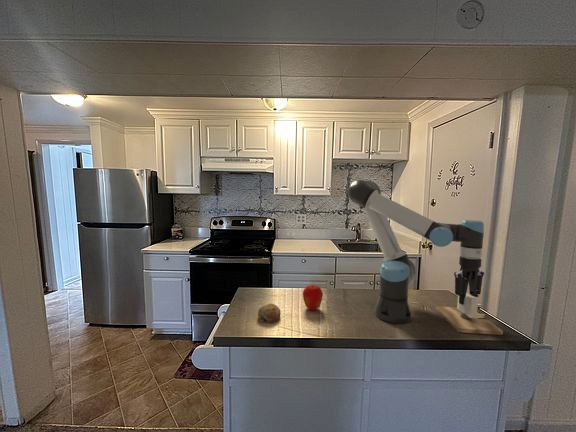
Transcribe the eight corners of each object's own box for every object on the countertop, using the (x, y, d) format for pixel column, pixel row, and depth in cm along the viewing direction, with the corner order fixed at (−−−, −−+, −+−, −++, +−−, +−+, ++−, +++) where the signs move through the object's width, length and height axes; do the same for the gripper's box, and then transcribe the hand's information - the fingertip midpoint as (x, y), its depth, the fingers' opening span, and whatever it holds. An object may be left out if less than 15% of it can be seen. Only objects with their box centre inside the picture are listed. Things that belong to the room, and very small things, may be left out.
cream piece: (468, 322, 105) (470, 299, 104) (454, 312, 114) (456, 290, 113) (491, 323, 105) (493, 299, 104) (476, 312, 114) (478, 291, 113)
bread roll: (256, 327, 111) (252, 314, 107) (265, 308, 119) (261, 296, 115) (277, 331, 107) (274, 318, 103) (285, 311, 115) (282, 299, 112)
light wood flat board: (458, 332, 101) (458, 327, 101) (435, 309, 121) (435, 305, 120) (502, 334, 99) (503, 330, 99) (472, 311, 119) (472, 307, 119)
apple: (321, 304, 124) (321, 280, 123) (323, 313, 115) (324, 287, 114) (302, 304, 125) (302, 280, 123) (303, 313, 116) (303, 287, 114)
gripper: (462, 260, 102) (458, 316, 104) (494, 258, 106) (490, 312, 108) (446, 255, 109) (443, 308, 111) (477, 254, 113) (473, 305, 115)
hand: (466, 310), depth 109 cm, fingers closed on cream piece, 3 cm apart
